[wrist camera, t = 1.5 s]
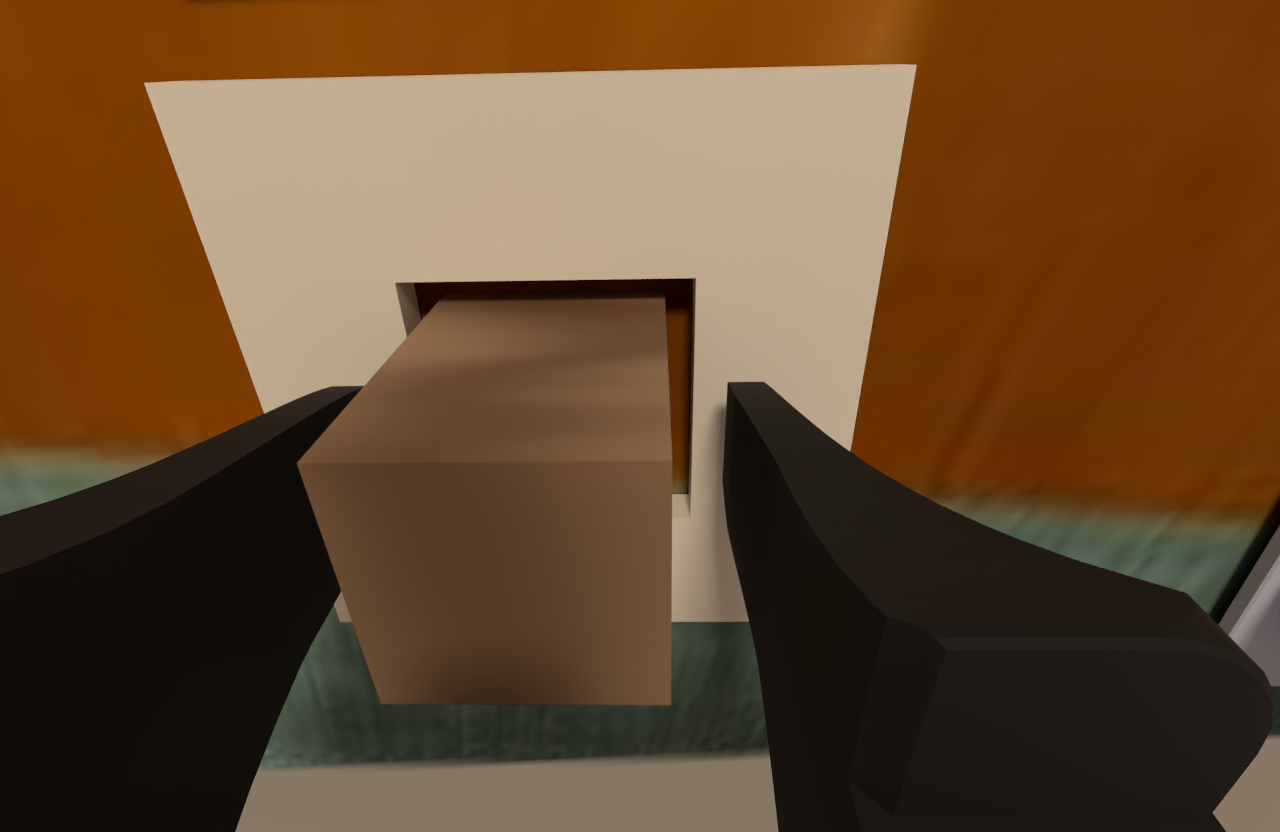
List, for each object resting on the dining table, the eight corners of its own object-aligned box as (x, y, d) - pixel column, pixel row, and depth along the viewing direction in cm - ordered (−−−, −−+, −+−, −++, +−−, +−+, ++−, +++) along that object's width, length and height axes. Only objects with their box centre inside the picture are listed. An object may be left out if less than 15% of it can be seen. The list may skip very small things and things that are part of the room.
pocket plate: (897, 64, 10) (916, 65, 9) (813, 595, 15) (821, 621, 14) (179, 81, 10) (144, 83, 9) (354, 596, 15) (340, 622, 15)
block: (664, 290, 11) (672, 460, 7) (665, 473, 13) (670, 705, 9) (445, 293, 12) (296, 463, 7) (477, 474, 13) (380, 703, 9)
